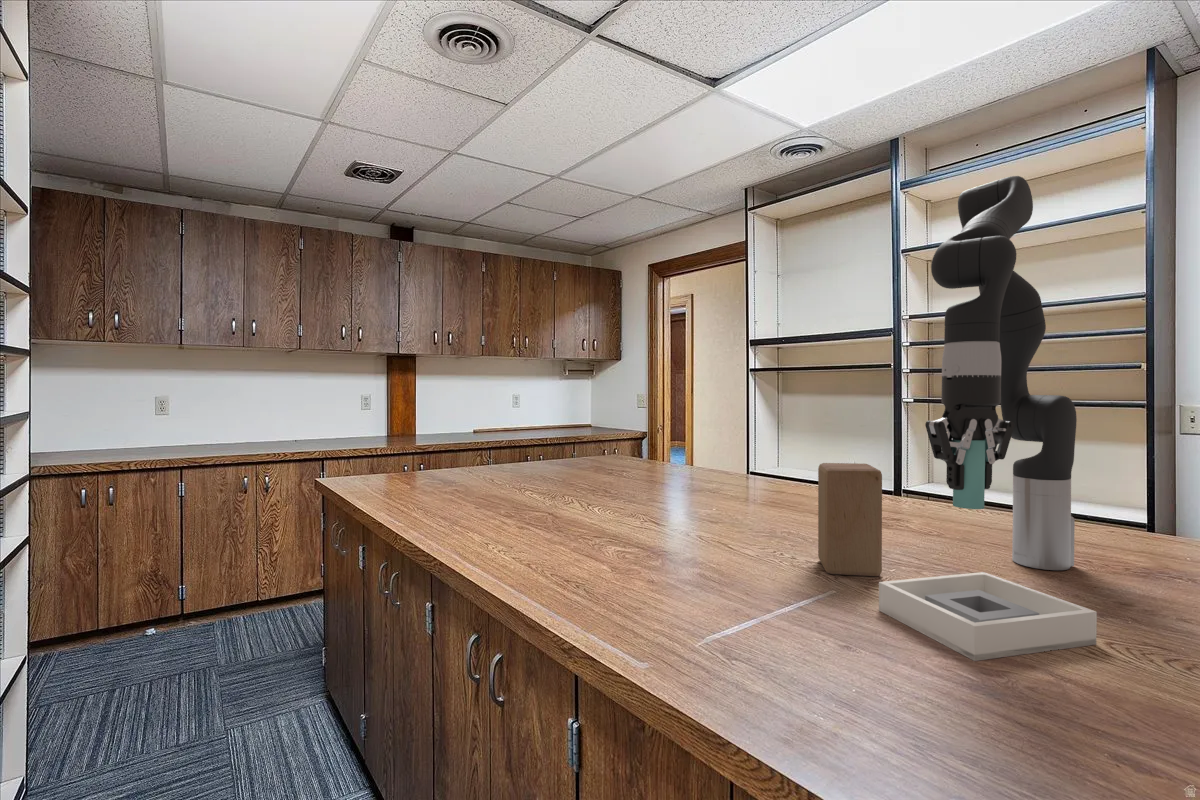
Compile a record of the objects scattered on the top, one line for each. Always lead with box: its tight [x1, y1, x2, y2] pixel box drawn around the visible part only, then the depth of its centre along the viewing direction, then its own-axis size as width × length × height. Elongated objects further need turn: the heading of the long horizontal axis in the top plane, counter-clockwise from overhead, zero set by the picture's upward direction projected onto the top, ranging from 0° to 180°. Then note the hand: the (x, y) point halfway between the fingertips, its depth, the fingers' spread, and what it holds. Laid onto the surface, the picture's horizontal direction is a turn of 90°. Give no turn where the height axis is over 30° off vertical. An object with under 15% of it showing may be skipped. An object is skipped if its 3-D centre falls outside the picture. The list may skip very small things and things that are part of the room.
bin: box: [878, 571, 1098, 662], centre depth 88 cm, size 20×18×4 cm
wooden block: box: [817, 462, 883, 577], centre depth 116 cm, size 10×10×20 cm
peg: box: [952, 439, 986, 510], centre depth 89 cm, size 4×4×10 cm
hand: (968, 488), depth 89 cm, fingers closed on peg, 4 cm apart
